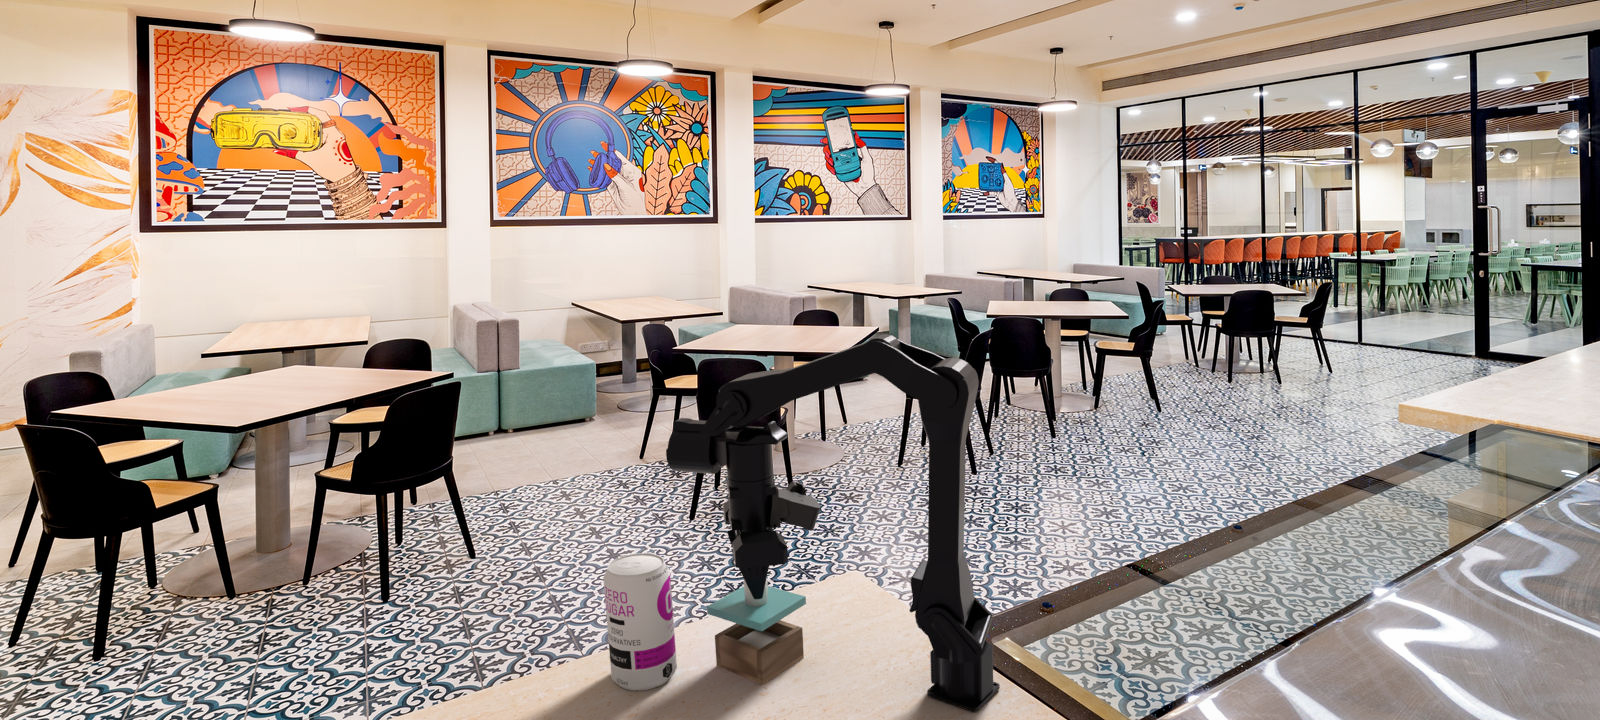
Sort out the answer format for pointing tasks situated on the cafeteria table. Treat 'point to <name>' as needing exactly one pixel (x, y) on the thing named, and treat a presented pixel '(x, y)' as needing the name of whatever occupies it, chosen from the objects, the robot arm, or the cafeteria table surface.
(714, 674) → the cafeteria table surface
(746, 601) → the lid
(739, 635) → the box
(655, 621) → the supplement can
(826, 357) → the robot arm
